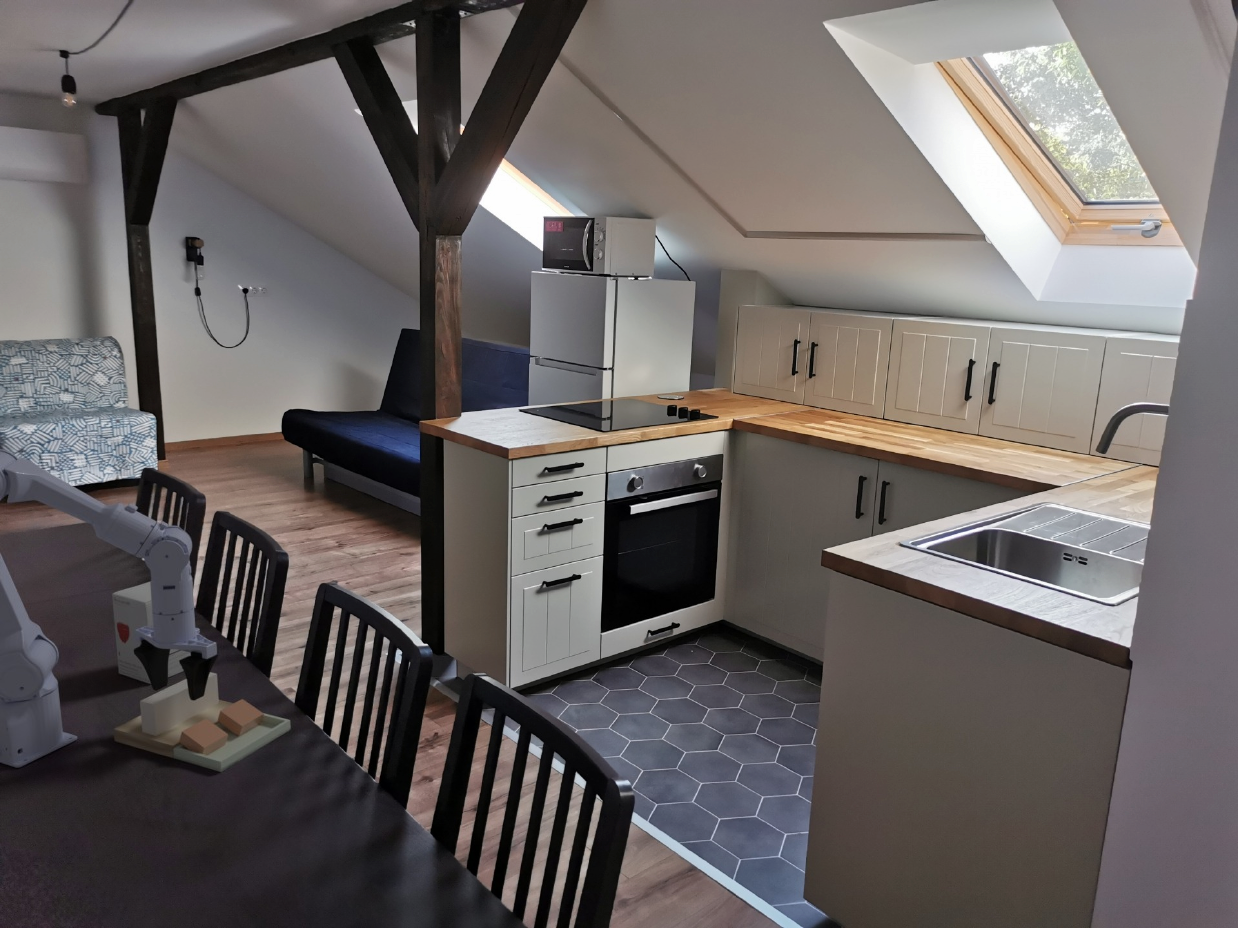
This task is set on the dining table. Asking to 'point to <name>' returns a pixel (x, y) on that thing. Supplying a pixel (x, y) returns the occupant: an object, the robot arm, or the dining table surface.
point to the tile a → (203, 737)
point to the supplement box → (130, 616)
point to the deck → (167, 740)
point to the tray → (236, 744)
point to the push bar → (175, 706)
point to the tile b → (240, 717)
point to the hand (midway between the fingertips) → (178, 692)
